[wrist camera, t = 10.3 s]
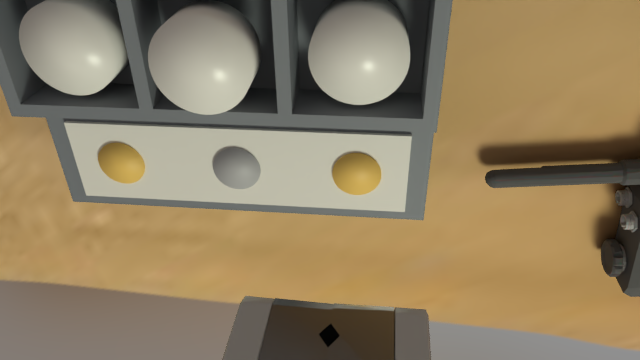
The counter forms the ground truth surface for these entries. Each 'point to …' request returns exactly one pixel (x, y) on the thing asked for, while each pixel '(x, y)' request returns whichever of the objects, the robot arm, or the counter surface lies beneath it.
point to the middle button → (205, 57)
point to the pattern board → (243, 122)
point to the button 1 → (74, 44)
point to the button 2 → (359, 50)
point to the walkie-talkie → (636, 217)
